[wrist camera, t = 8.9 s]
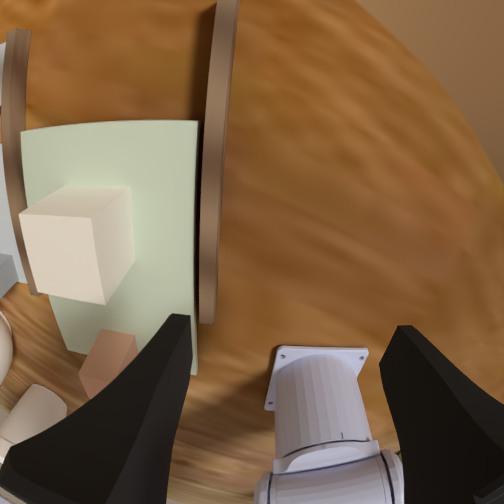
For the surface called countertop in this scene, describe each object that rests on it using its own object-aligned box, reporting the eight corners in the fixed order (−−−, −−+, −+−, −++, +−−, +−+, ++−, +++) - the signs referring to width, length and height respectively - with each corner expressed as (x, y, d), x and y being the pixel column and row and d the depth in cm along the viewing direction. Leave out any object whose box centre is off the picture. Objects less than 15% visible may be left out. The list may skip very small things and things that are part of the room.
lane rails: (216, 309, 22) (213, 324, 21) (-6, 273, 22) (-16, 282, 20) (240, -1, 13) (238, -12, 11) (-28, 57, 12) (-42, 58, 10)
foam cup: (11, 372, 30) (-26, 439, 18) (53, 380, 29) (14, 462, 17) (45, 412, 34) (18, 475, 22) (88, 422, 33) (62, 495, 22)
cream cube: (135, 260, 19) (105, 305, 15) (74, 253, 19) (37, 291, 15) (130, 187, 17) (91, 217, 12) (64, 185, 17) (18, 213, 12)
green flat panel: (197, 368, 25) (187, 424, 20) (70, 344, 25) (45, 389, 20) (200, 120, 16) (172, 129, 11) (27, 130, 16) (-32, 148, 10)
